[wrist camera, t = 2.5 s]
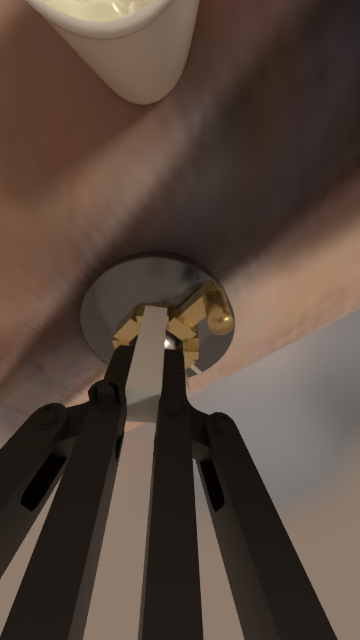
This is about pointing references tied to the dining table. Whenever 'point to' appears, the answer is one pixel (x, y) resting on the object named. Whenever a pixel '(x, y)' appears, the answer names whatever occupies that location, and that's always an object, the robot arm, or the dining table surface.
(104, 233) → the dining table surface
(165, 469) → the robot arm
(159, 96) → the candle holder
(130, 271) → the bearing cap
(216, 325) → the brass lugged wrench
